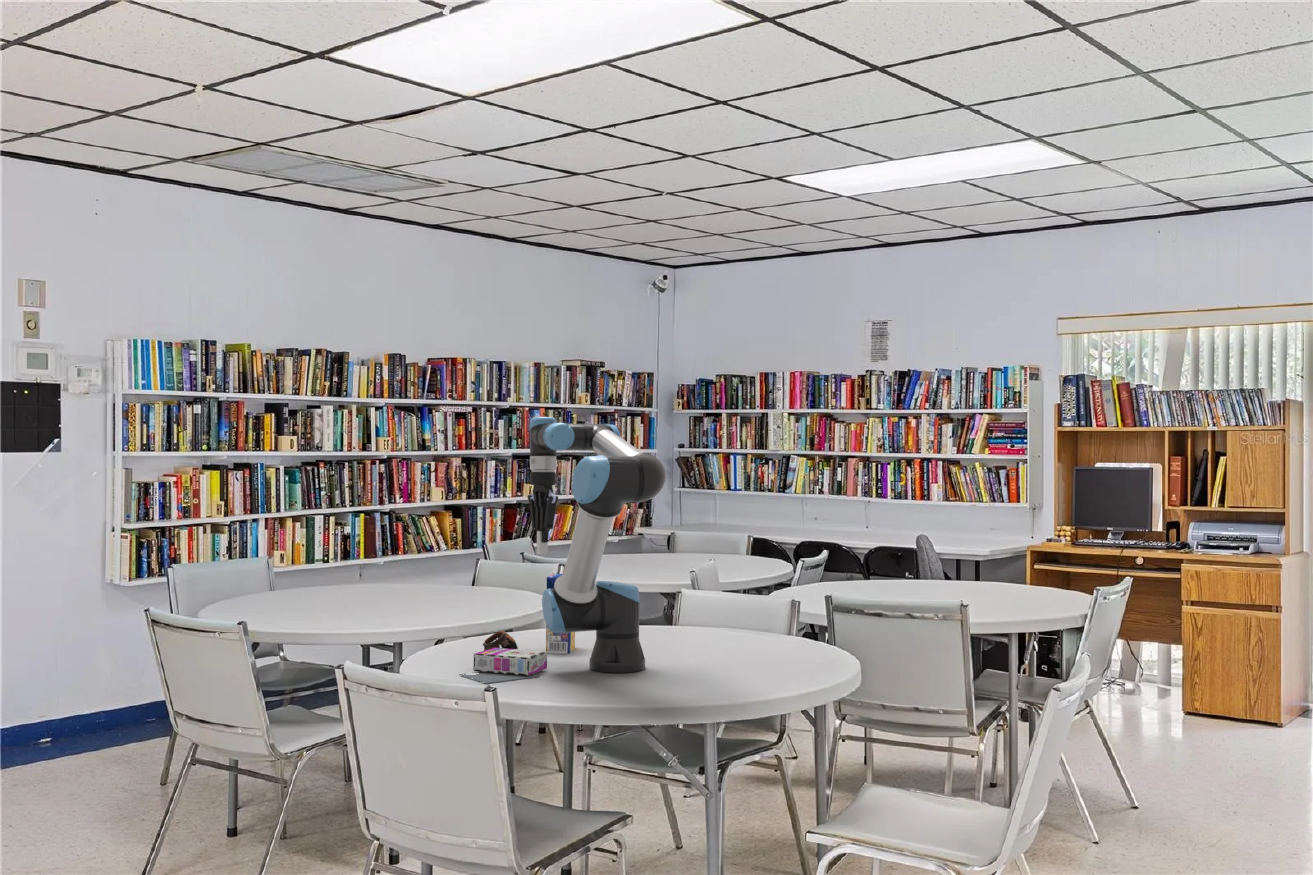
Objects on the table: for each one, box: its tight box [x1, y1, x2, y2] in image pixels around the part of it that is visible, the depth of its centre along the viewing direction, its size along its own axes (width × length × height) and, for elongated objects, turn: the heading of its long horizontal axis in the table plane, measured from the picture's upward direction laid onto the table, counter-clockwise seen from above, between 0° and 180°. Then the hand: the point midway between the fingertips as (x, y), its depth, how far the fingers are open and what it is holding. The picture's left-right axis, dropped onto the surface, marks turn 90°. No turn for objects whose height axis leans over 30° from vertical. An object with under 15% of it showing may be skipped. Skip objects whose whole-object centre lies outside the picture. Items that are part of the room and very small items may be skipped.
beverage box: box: [545, 573, 576, 655], centre depth 335 cm, size 7×11×22 cm, turn 175°
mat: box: [458, 671, 541, 685], centre depth 295 cm, size 14×16×1 cm
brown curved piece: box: [482, 630, 519, 651], centre depth 325 cm, size 12×10×8 cm
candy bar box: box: [472, 647, 548, 676], centre depth 301 cm, size 11×5×16 cm
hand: (542, 553), depth 323 cm, fingers closed
